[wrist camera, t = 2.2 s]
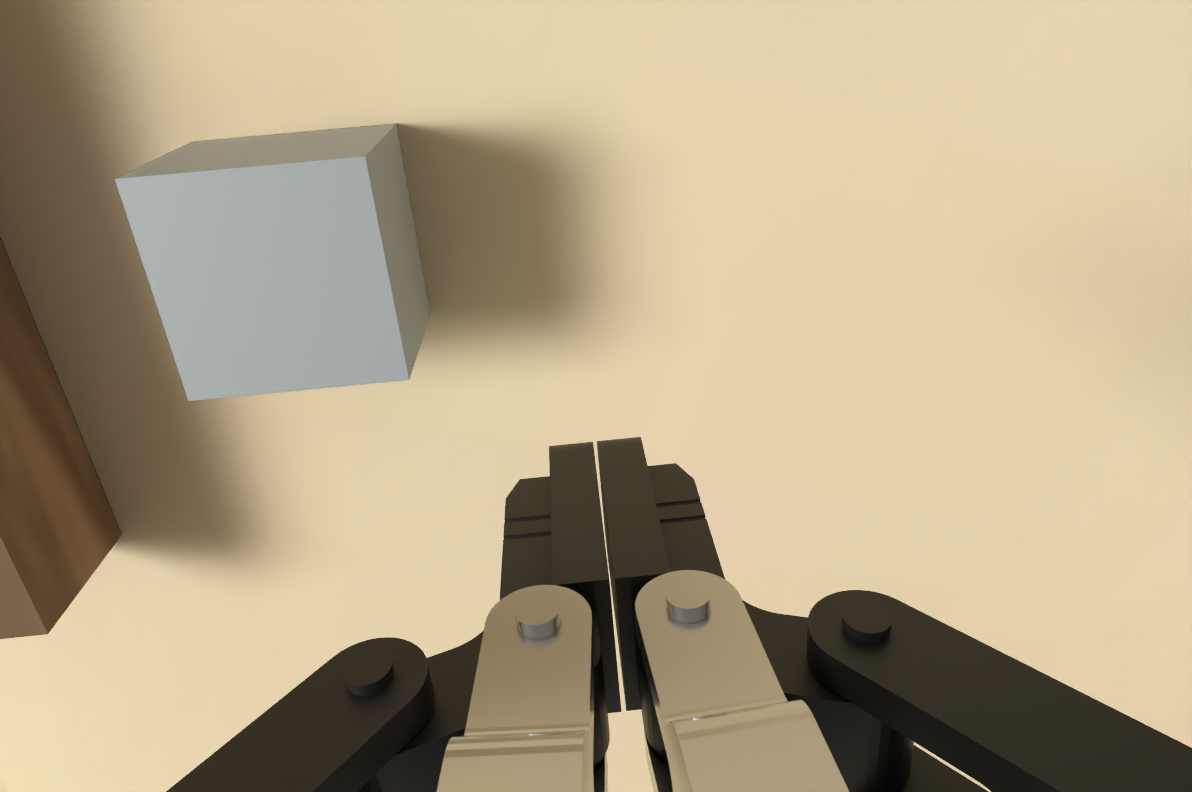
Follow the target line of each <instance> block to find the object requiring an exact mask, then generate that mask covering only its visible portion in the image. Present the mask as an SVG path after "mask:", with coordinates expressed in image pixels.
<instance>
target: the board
mask: <svg viewBox="0 0 1192 792" xmlns="http://www.w3.org/2000/svg"><path fill="white" fill-rule="evenodd" d="M120 536H121V532H120V530H119V527H118V525H117V522H116V520H115V517H114V515H113V513H112V510H111V508H110V505H109V503H108V500H107V498H106V495H105V493H104V491H103V488H102V486H101V483H100V481H99V478H98V476H97V473H96V471H95V468H94V466H93V464H92V461H91V459H90V456H89V454H88V451H87V449H86V446H85V444H84V442H83V439H82V437H81V434H80V432H79V429H78V427H77V424H76V422H75V420H74V417H73V415H72V412H71V410H70V407H69V405H68V402H67V400H66V398H65V395H64V393H63V390H62V388H61V385H60V383H59V380H58V378H57V376H56V373H55V371H54V368H53V366H52V363H51V361H50V358H49V356H48V353H47V351H46V349H45V346H44V344H43V341H42V339H41V336H40V334H39V331H38V329H37V327H36V324H35V322H34V319H33V317H32V314H31V312H30V309H29V307H28V305H27V302H26V300H25V297H24V295H23V292H22V290H21V287H20V285H19V283H18V280H17V278H16V275H15V273H14V270H13V268H12V265H11V263H10V261H9V258H8V256H7V253H6V251H5V248H4V246H3V243H2V241H1V239H0V639H5V638H14V637H24V636H34V635H43V634H48V633H49V632H50V630H51V629H52V628H53V626H54V625H55V624H56V622H57V621H58V620H59V618H60V617H61V616H62V614H63V613H64V612H65V610H66V609H67V608H68V606H69V605H70V604H71V602H72V601H73V600H74V598H75V597H76V596H77V594H78V593H79V591H80V590H81V589H82V587H83V586H84V585H85V583H86V582H87V581H88V579H89V578H90V577H91V575H92V574H93V573H94V571H95V570H96V569H97V567H98V566H99V565H100V563H101V562H102V561H103V559H104V558H105V557H106V555H107V554H108V553H109V551H110V550H111V549H112V547H113V546H114V545H115V543H116V542H117V540H118V539H119V538H120Z"/></svg>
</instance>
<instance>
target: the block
mask: <svg viewBox="0 0 1192 792" xmlns="http://www.w3.org/2000/svg"><path fill="white" fill-rule="evenodd" d="M115 182H116V185H117V188H118V191H119V194H120V197H121V200H122V203H123V206H124V209H125V212H126V215H127V218H128V221H129V224H130V227H131V230H132V233H133V236H134V239H135V242H136V245H137V248H138V251H139V254H140V257H141V260H142V263H143V266H144V269H145V272H146V275H147V278H148V281H149V284H150V287H151V290H152V293H153V296H154V299H155V302H156V305H157V308H158V311H159V314H160V317H161V320H162V323H163V326H164V329H165V332H166V335H167V338H168V341H169V344H170V347H171V350H172V353H173V356H174V359H175V362H176V365H177V368H178V371H179V374H180V377H181V380H182V384H183V387H184V390H185V393H186V396H187V399H188V401H195V400H206V399H216V398H226V397H237V396H247V395H258V394H268V393H278V392H289V391H299V390H310V389H320V388H331V387H341V386H351V385H362V384H372V383H383V382H393V381H403V380H409V379H410V376H411V372H412V369H413V366H414V363H415V360H416V357H417V354H418V350H419V347H420V344H421V341H422V338H423V335H424V332H425V329H426V325H427V322H428V319H429V316H430V309H429V304H428V298H427V293H426V287H425V281H424V276H423V270H422V264H421V259H420V253H419V247H418V242H417V236H416V230H415V225H414V219H413V214H412V208H411V202H410V197H409V191H408V185H407V180H406V174H405V168H404V163H403V157H402V151H401V146H400V140H399V135H398V129H397V123H395V124H384V125H373V126H362V127H351V128H340V129H328V130H317V131H306V132H295V133H284V134H273V135H262V136H251V137H239V138H228V139H217V140H206V141H195V142H190V143H188V144H186V145H184V146H182V147H180V148H178V149H176V150H174V151H172V152H170V153H168V154H166V155H163V156H161V157H159V158H157V159H155V160H153V161H151V162H149V163H147V164H145V165H143V166H141V167H139V168H137V169H134V170H132V171H130V172H128V173H126V174H124V175H122V176H120V177H118V178H116V179H115Z"/></svg>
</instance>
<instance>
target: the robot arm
mask: <svg viewBox="0 0 1192 792" xmlns="http://www.w3.org/2000/svg"><path fill="white" fill-rule="evenodd" d="M597 448H598V459H599V470H600V481H601V492H602V503H603V514H604V525H605V535H606V544H607V553H608V562H609V570H610V579H611V587H612V595H613V603H614V612H615V620H616V628H617V636H618V645H619V653H620V661H621V669H622V678H623V686H624V694H625V703H626V711H629V710H638V709H642V716H643V723H644V731H645V744H646V756H647V763H648V767H649V772H650V776H651V780H652V785H653V789H654V792H988V791H986V790H985V789H983V788H982V787H980V786H978V785H977V784H975V783H974V782H972V781H970V780H969V779H967V778H966V777H964V776H962V775H961V774H959V773H958V772H956V771H954V770H953V769H951V768H950V767H948V766H946V765H945V764H943V763H942V762H940V761H938V760H937V759H935V758H934V757H932V756H930V755H929V754H927V753H926V752H924V751H922V750H921V749H919V748H918V747H916V746H914V745H913V744H914V742H916V743H917V744H919V745H920V746H922V747H924V748H925V749H927V750H928V751H930V752H932V753H933V754H935V755H936V756H938V757H940V758H941V759H943V760H945V761H946V762H948V763H949V764H951V765H953V766H954V767H956V768H957V769H959V770H961V771H962V772H964V773H965V774H967V775H969V776H970V777H972V778H973V779H975V780H977V781H978V782H980V783H981V784H983V785H984V786H985V787H987V788H988V789H989V790H990V791H991V792H1192V748H1191V747H1189V746H1187V745H1185V744H1183V743H1181V742H1179V741H1177V740H1175V739H1173V738H1171V737H1169V736H1167V735H1165V734H1163V733H1161V732H1159V731H1157V730H1155V729H1153V728H1151V727H1149V726H1147V725H1145V724H1143V723H1141V722H1139V721H1137V720H1135V719H1133V718H1131V717H1129V716H1127V715H1125V714H1123V713H1121V712H1119V711H1117V710H1115V709H1113V708H1111V707H1109V706H1107V705H1105V704H1103V703H1101V702H1099V701H1097V700H1095V699H1093V698H1091V697H1089V696H1087V695H1085V694H1083V693H1081V692H1079V691H1077V690H1075V689H1073V688H1071V687H1069V686H1067V685H1065V684H1063V683H1061V682H1059V681H1057V680H1055V679H1053V678H1051V677H1049V676H1048V675H1046V674H1044V673H1042V672H1040V671H1038V670H1036V669H1034V668H1032V667H1030V666H1028V665H1026V664H1024V663H1022V662H1020V661H1018V660H1016V659H1014V658H1012V657H1010V656H1008V655H1006V654H1004V653H1002V652H1000V651H998V650H996V649H994V648H992V647H990V646H988V645H986V644H984V643H982V642H980V641H978V640H976V639H974V638H972V637H970V636H968V635H966V634H964V633H962V632H960V631H958V630H956V629H954V628H952V627H950V626H948V625H946V624H944V623H942V622H940V621H938V620H936V619H934V618H932V617H930V616H928V615H926V614H924V613H922V612H920V611H918V610H916V609H914V608H912V607H910V606H908V605H906V604H904V603H902V602H901V601H899V600H896V599H894V598H892V597H890V596H887V595H884V594H880V593H876V592H871V591H863V590H848V591H841V592H837V593H834V594H831V595H829V596H826V597H824V598H823V599H821V600H820V601H818V602H817V603H816V604H815V605H814V606H813V608H812V610H811V611H810V614H809V617H808V618H806V617H799V616H791V615H783V614H777V613H772V612H768V611H765V610H761V609H759V608H757V607H754V606H752V605H750V604H748V603H746V602H745V601H743V600H742V598H741V596H740V594H739V593H738V591H737V590H736V589H735V587H734V586H733V585H732V584H730V583H729V582H728V581H727V580H725V578H724V575H723V571H722V568H721V565H720V562H719V558H718V555H717V552H716V549H715V546H714V542H713V539H712V536H711V533H710V529H709V526H708V523H707V520H706V519H705V513H704V510H703V507H702V504H701V503H700V497H699V494H698V491H697V487H696V484H695V481H694V479H693V478H692V477H691V476H690V475H688V474H687V473H686V472H685V471H684V470H683V469H682V468H680V467H679V466H678V465H677V464H676V463H675V464H665V465H656V466H647V463H646V458H645V454H644V449H643V445H642V440H641V437H636V438H626V439H616V440H606V441H597ZM549 459H550V476H549V477H539V478H529V479H520V480H519V481H518V483H517V484H516V485H515V487H514V488H513V490H512V491H511V492H510V494H509V495H508V496H507V498H506V506H505V523H504V540H503V555H502V572H501V588H500V601H499V602H498V603H496V604H495V606H494V607H493V608H492V609H491V611H490V612H489V614H488V616H487V619H486V622H485V627H484V631H483V632H482V633H480V634H479V635H478V636H476V637H475V638H474V639H472V640H471V641H469V642H467V643H465V644H463V645H461V646H459V647H456V648H454V649H451V650H449V651H446V652H443V653H440V654H437V655H434V656H432V657H429V658H426V656H425V655H424V653H423V651H422V650H421V649H420V648H419V647H418V646H416V645H415V644H413V643H412V642H409V641H406V640H403V639H399V638H376V639H371V640H367V641H363V642H360V643H357V644H355V645H353V646H350V647H348V648H347V649H345V650H343V651H341V652H340V653H338V654H337V655H336V656H334V657H333V658H332V659H330V660H329V661H328V662H327V663H325V664H324V665H323V666H322V667H320V668H319V669H318V670H317V671H315V672H314V673H313V674H312V675H310V676H309V677H308V678H307V679H305V680H304V681H303V682H302V683H301V684H299V685H298V686H297V687H296V688H294V689H293V690H292V691H291V692H289V693H288V694H287V695H286V696H284V697H283V698H282V699H281V700H279V701H278V702H277V703H276V704H274V705H273V706H272V707H271V708H269V709H268V710H267V711H266V712H265V713H263V714H262V715H261V716H260V717H258V718H257V719H256V720H255V721H253V722H252V723H251V724H250V725H248V726H247V727H246V728H245V729H243V730H242V731H241V732H240V733H238V734H237V735H236V736H235V737H233V738H232V739H231V740H230V741H229V742H227V743H226V744H225V745H224V746H222V747H221V748H220V749H219V750H217V751H216V752H215V753H214V754H212V755H211V756H210V757H209V758H207V759H206V760H205V761H204V762H202V763H201V764H200V765H199V766H197V767H196V768H195V769H194V770H193V771H191V772H190V773H189V774H188V775H186V776H185V777H184V778H183V779H181V780H180V781H179V782H178V783H176V784H175V785H174V786H173V787H171V788H170V789H169V790H168V791H166V792H608V764H607V754H606V751H607V749H608V745H609V724H608V713H613V712H621V704H620V693H619V682H618V671H617V660H616V649H615V638H614V628H613V617H612V606H611V595H610V584H609V575H608V566H607V558H606V549H605V541H604V532H603V524H602V515H601V507H600V499H599V490H598V482H597V473H596V465H595V456H594V448H593V442H587V443H577V444H568V445H558V446H549Z"/></svg>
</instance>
